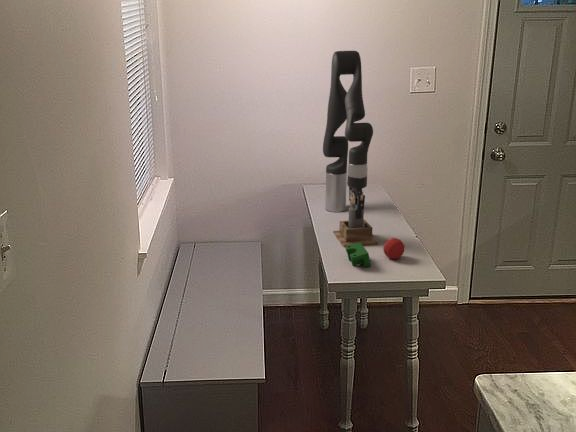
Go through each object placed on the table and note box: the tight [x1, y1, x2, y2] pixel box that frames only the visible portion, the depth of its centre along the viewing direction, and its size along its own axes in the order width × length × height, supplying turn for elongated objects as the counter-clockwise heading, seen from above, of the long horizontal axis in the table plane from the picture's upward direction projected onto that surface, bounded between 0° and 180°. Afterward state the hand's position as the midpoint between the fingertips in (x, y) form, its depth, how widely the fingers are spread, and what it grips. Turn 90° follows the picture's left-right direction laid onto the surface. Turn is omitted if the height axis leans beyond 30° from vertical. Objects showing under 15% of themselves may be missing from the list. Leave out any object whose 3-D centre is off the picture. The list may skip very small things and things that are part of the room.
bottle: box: [347, 197, 365, 228], centre depth 262 cm, size 6×6×15 cm
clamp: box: [344, 242, 372, 268], centre depth 240 cm, size 12×6×9 cm, turn 3°
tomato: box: [382, 237, 405, 260], centre depth 244 cm, size 8×8×8 cm
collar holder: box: [332, 219, 380, 248], centre depth 264 cm, size 16×14×6 cm
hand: (356, 215), depth 262 cm, fingers closed on bottle, 5 cm apart
